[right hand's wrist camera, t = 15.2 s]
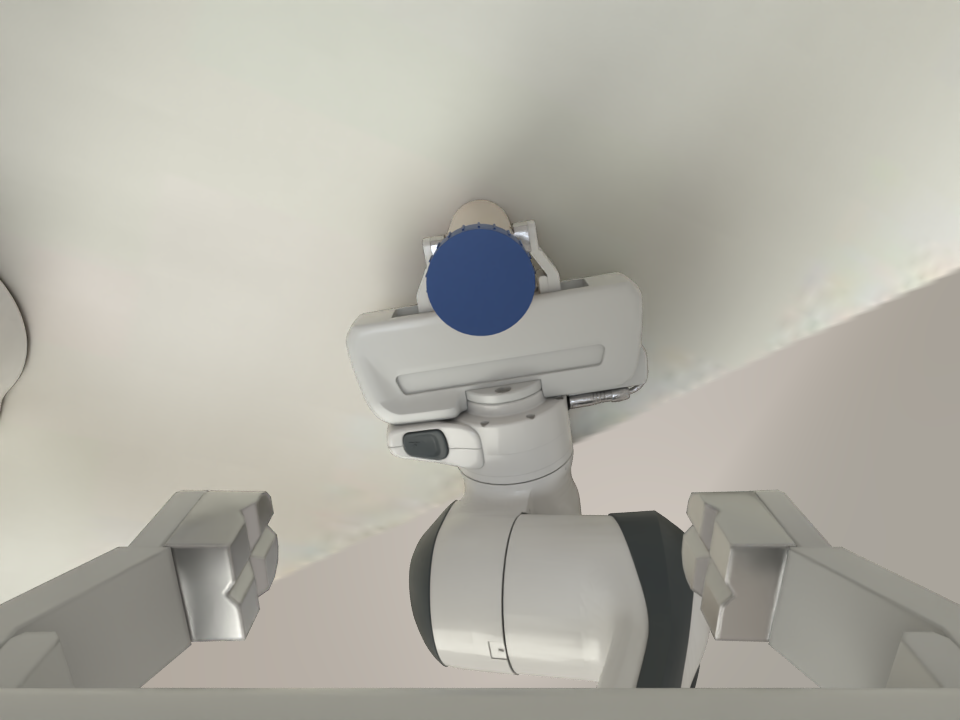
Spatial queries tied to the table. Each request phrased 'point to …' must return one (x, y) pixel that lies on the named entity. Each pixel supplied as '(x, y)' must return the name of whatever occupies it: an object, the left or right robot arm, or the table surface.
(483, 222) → the jar
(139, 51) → the table surface
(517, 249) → the lid
